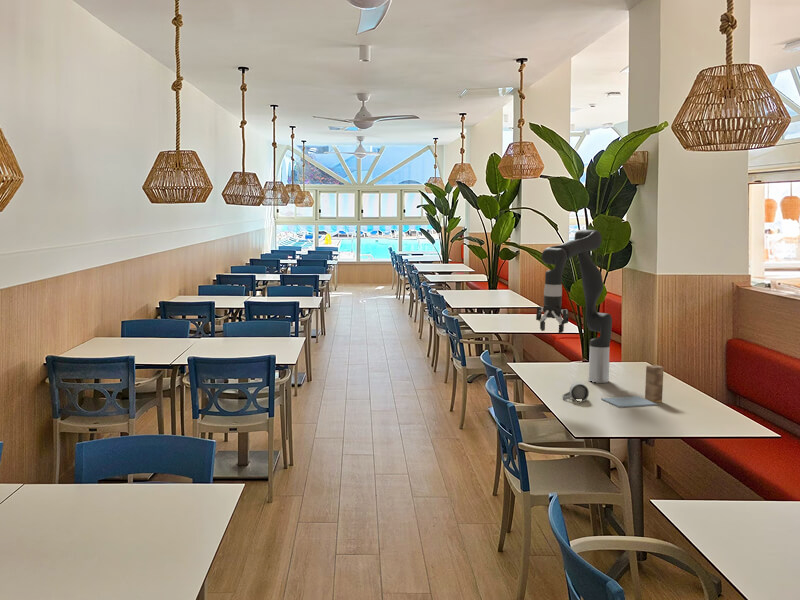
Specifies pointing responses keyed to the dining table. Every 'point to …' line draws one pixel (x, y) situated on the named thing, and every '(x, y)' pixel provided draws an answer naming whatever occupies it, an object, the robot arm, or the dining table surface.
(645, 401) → the slate mat
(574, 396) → the ceramic mug
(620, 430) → the dining table surface
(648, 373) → the walnut block
